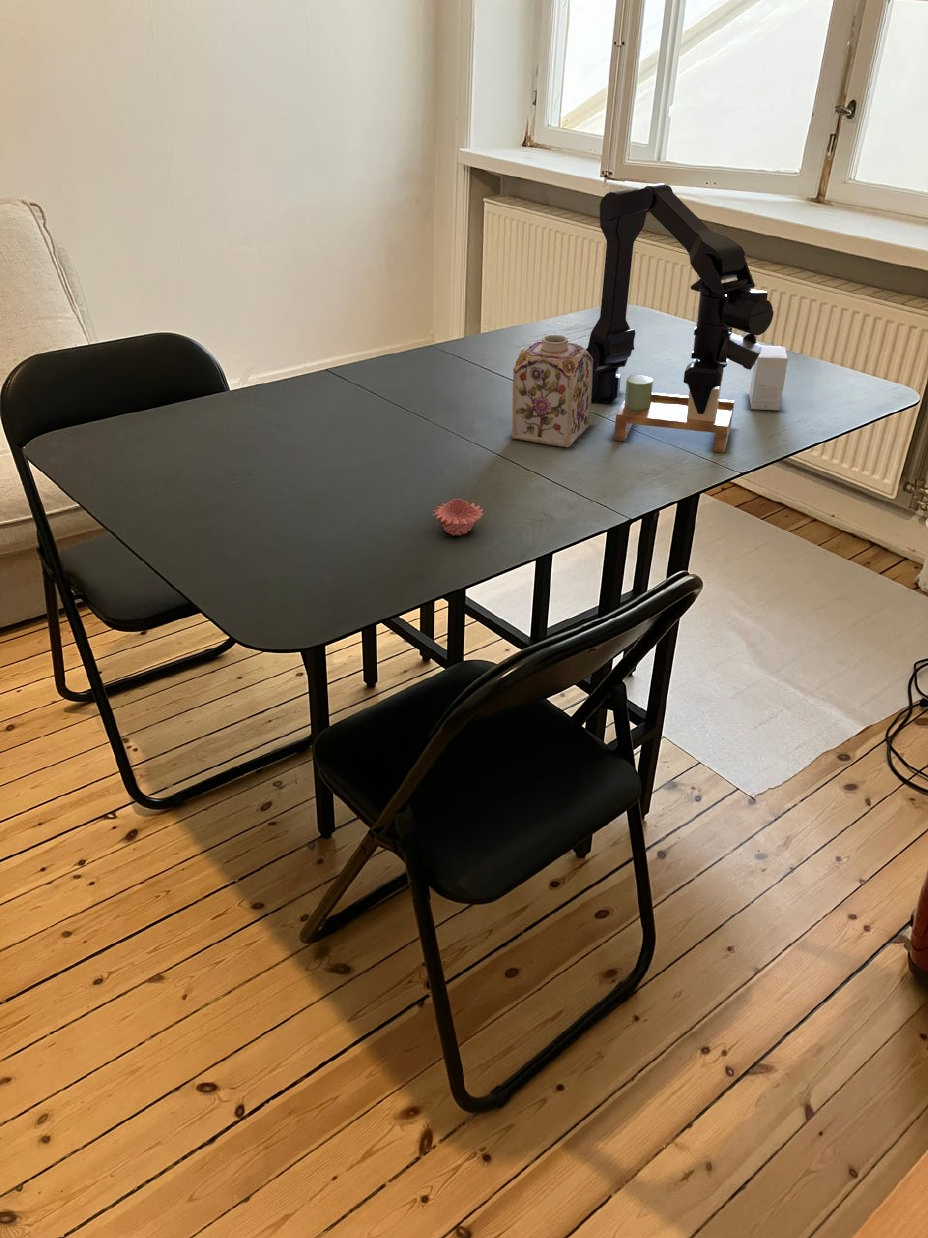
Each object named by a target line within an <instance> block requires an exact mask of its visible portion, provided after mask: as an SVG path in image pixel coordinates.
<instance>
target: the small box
mask: <svg viewBox="0 0 928 1238" xmlns="http://www.w3.org/2000/svg"><path fill="white" fill-rule="evenodd" d="M760 347H761V352H760V354H759V356H758V358H757V360H756V362H755V364H754V365H753V367H752V373H751V374H752V375H751V381H750V388H749V402H750V409H751V410H763V411H780V410H781V404H782V398H783V391H784V385H785V379H786V373H787V366H788V361H789V359H788V354H787V350H786V346H782V345H781V346H779V345H762V344H760Z"/></svg>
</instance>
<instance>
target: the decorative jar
mask: <svg viewBox="0 0 928 1238" xmlns="http://www.w3.org/2000/svg"><path fill="white" fill-rule="evenodd" d="M593 361H594V360H593V359H592V357H591V355H590V354H589V353H588V351H587V350H586V348H584V347H583V346H582V345H580V344H578V343H576V342H569V338H568V337H567V336H565V335H563V334H549V335H545V336H544V337H542V339H541V341H537V342H531V343H529V344H527V345H526V346H525V347H523V348H522V349H521V351H520V353H519V355H518V358H517V359H516V361H515V365H514V366H513V368H512V373H513V374H512V376H513V377H512V405H511V406H512V408H511V412H512V413H511V418H512V419H511V420H512V421H511V422H512V423H511V425H512V427H511V432H512V439H514V440H521V441H525V442H531V443H538V444H543V445H549V446H555V447H560V448H561V447H562V448H570V447H571V446H572V445H573V444H574V443H575V442H576V440H578V438H579V437H580V436H581V435H582V434H583V433H584V432H585V431H586V430H587V429H588V428H589V426H590V422H591V409H592V402H591V394H592V371H593Z"/></svg>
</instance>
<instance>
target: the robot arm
mask: <svg viewBox="0 0 928 1238" xmlns="http://www.w3.org/2000/svg"><path fill="white" fill-rule="evenodd" d="M648 213H649V214H651V216H652V217H653V218H655V220H657V222H659V223H660V225H661V226H663V228H664V229H665V230H666V231H667V232H668V233H669V234H670V235H671V236H672V237H673V238H674V239H675V240H676V241H677V243H679V244H680V245H681V246H682V247H683V248H684V249H685V251H686V252H687V253H688V256H689V263H690V266H691V267H692V269H693V270H694V272H695V273H696V275H697V276H698V277H699V279H698V280H697V281H696V282H694V283H692V284H691V285H690V290H691V291H695V292H698V293H699V298H698V305H697V314H696V324H695V327H694V330H693V336H694V341H693V349H692V352H691V357H690V359H692V360H693V361H691V362H690V363H689V364H687V366H686V367H685V370H684V375H683V383H684V384H686V385H687V386H688V387H687V388H688V389H689V391H690V392H691V395H692V398H693V401H694V404H695V407H696V410H697V413H698V414H704V412H705V409H706V406H707V403H708V400H709V397H710V394H711V391H712V389H713V388H715V387H718V386H720V385H721V386H722V382H723V378H724V377H723V376H724V371H725V370H724V368H727V366H728V363H729V360H730V361H731V362H733V363H736V364H738V365H740V366H742V367H743V368H744V369H746V370H753V366H754V364H755V362H756V360H757V358H758V356H759V354H760V352H761V347H760V345H761V344H760V343H757V336H760V335H761V336H762V335H763V334H765V332H766V331H767V330H768V329H769V328H770V326H771V324H772V321H773V318H774V313H775V312H774V309H773V304H772V302H771V301H770V300H768V296H769V294H768V292H767V291H765V290H756V289H755V287H756V286H755V285H756V284H755V282H754V278H753V275H752V273H751V270H750V268H749V267H750V266H749V265H748V262H747V259H746V257H745V256H746V252H745V250H744V248H743V247H742V245H741V244H739V243H738V242H736V241H735V240H733V239H731V238H730V237H728V236H727V235H724V234H720V233H718V232H715V231H713V230H712V229H710V228H709V227H708V226H707V225H706V224H705V223H704V222H703V221H702V220H701V219H700V218H699V217H698V216H697V215H696V214H695V213H694V212H693V211H692V210H691V209H690V208H689V207H688V206H687V205H686V204H685V203H684V202H683V201H682V200H681V199H680V198H679V197H678V196H677V195H676V194H675V193H674V191H673V189H672V187H671V185H668V184H666V183H656V184H650V185H645V186H644V187H642V188H640V189H639V188H636V187H635V188H628V189H622V190H615V191H609V192H607V193H605V195H604V196H603V197H602V198H601V199H600V203H599V226H600V229H601V232H602V233H603V236H604V238H605V240H606V248H605V259H604V269H603V280H602V289H601V290H602V291H601V302H600V303H601V304H600V314H599V315H600V316H599V319H598V320H597V322H596V323H595V324H594V327H593V328H592V329H591V331H590V335H589V340H588V344H587V348H585V350H587V351H588V353H589V354H590V355H591V357H592V359H593V360H594V361H593V371H592V394H591V403H602V404H614V403H615V401H616V399H617V398H618V397H619V395H620V393H621V392H620V390H621V377H622V374H620V373H619V368H624V367H626V366H627V363H628V360H629V358H631V355H632V354H633V353H632V352H633V351H634V350H635V338H636V330H635V329H633V328H631V327H630V325H629V323H628V321H627V310H628V303H629V302H628V301H629V293H630V282H631V273H632V265H633V254H634V244H635V241H636V240H637V238H638V236H639V235H640V233H641V232H642V230H643V228H644V226H645V223H646V219H647V214H648ZM732 279H735V280H732ZM727 280H730V281H727ZM723 281H726V282H723ZM733 329H734V330H737V331H741V332H743V333H744V334H743V335H741V334H739V335H736V334H735V333H733Z"/></svg>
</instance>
